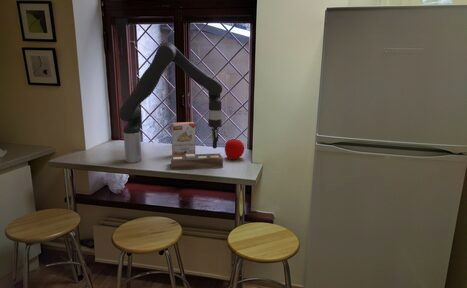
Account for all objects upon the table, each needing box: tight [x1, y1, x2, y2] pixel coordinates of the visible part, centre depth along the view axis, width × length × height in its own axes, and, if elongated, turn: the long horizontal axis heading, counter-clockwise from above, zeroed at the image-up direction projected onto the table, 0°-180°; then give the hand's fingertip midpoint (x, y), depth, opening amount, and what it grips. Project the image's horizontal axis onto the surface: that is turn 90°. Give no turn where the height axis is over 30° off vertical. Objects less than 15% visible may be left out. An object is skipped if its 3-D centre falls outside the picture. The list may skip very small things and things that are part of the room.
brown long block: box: [170, 153, 224, 170], centre depth 189 cm, size 11×29×5 cm, turn 101°
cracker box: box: [171, 121, 196, 155], centre depth 208 cm, size 14×6×21 cm, turn 112°
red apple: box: [224, 138, 245, 160], centre depth 203 cm, size 12×12×13 cm
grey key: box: [186, 153, 196, 159], centre depth 188 cm, size 5×5×3 cm
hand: (214, 148), depth 190 cm, fingers closed
